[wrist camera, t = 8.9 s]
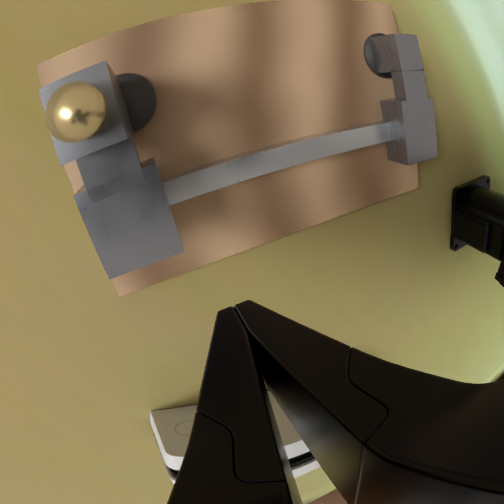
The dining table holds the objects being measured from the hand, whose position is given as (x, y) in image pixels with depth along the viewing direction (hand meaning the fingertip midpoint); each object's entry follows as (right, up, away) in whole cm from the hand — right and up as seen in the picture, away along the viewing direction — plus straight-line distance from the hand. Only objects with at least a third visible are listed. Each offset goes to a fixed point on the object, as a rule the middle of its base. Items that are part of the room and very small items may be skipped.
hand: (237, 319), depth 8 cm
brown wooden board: (+1, +9, +10) cm, 13 cm away
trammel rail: (+1, +9, +9) cm, 13 cm away
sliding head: (-6, +6, +7) cm, 11 cm away
